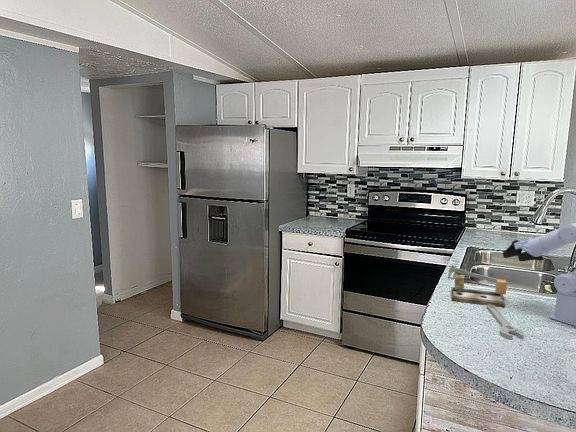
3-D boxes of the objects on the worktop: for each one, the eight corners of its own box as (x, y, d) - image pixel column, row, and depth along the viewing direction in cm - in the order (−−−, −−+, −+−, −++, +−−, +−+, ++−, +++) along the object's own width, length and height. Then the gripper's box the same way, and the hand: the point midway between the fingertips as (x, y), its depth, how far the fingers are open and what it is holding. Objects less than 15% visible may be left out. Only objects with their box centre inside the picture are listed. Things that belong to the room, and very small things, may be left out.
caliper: (448, 279, 172) (449, 264, 171) (448, 278, 173) (449, 264, 172) (500, 283, 167) (502, 268, 166) (500, 282, 168) (501, 267, 167)
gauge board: (500, 296, 151) (501, 278, 150) (504, 307, 140) (506, 288, 139) (451, 290, 157) (452, 273, 156) (451, 300, 146) (453, 282, 145)
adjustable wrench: (485, 308, 141) (485, 303, 141) (505, 310, 139) (506, 305, 139) (502, 339, 117) (502, 333, 117) (526, 342, 115) (527, 336, 115)
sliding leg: (504, 292, 150) (505, 280, 149) (507, 299, 142) (508, 286, 141) (495, 290, 151) (496, 279, 150) (497, 298, 143) (499, 285, 142)
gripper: (557, 236, 139) (523, 249, 150) (527, 228, 134) (494, 243, 145) (563, 255, 136) (528, 267, 147) (533, 248, 131) (498, 261, 142)
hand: (511, 256), depth 146 cm, fingers open, 7 cm apart
